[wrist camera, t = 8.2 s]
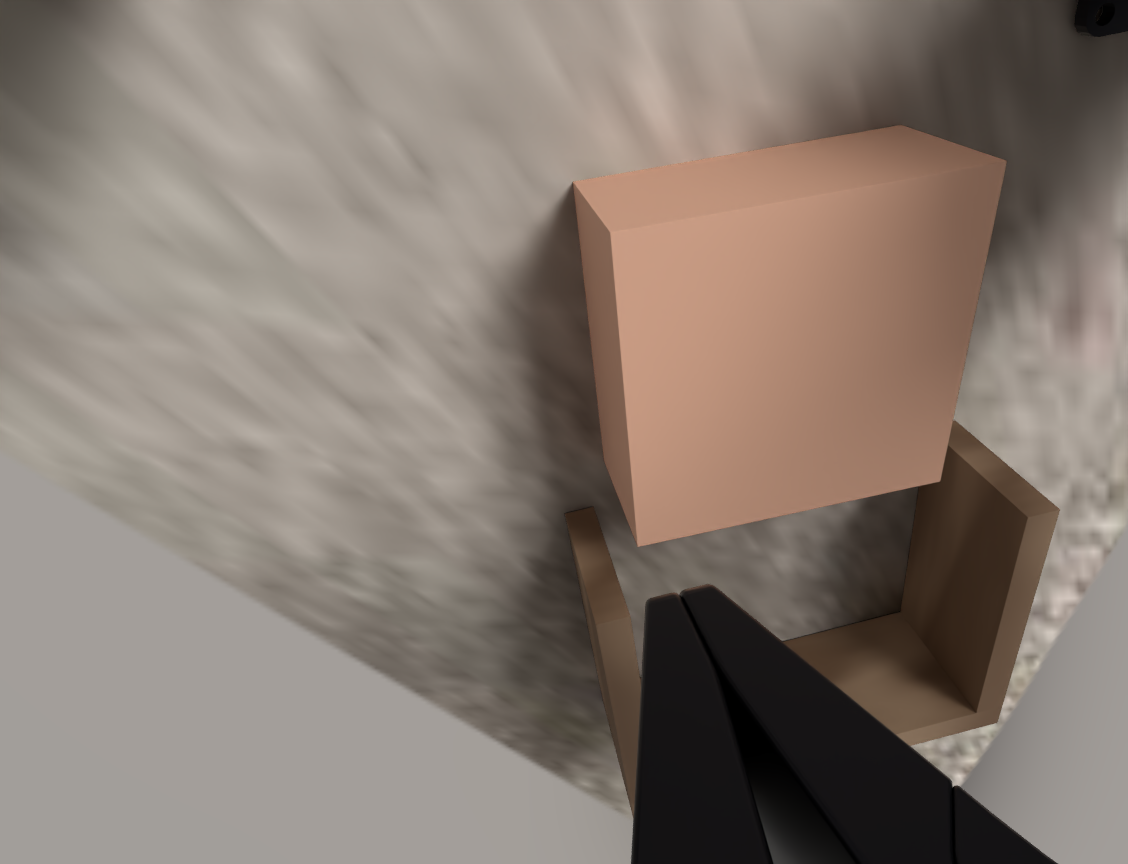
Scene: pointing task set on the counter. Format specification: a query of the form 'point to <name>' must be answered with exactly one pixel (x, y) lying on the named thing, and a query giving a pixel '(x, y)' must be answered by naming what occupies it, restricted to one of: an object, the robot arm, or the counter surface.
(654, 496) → the terracotta block
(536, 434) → the counter surface
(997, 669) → the walnut stall
